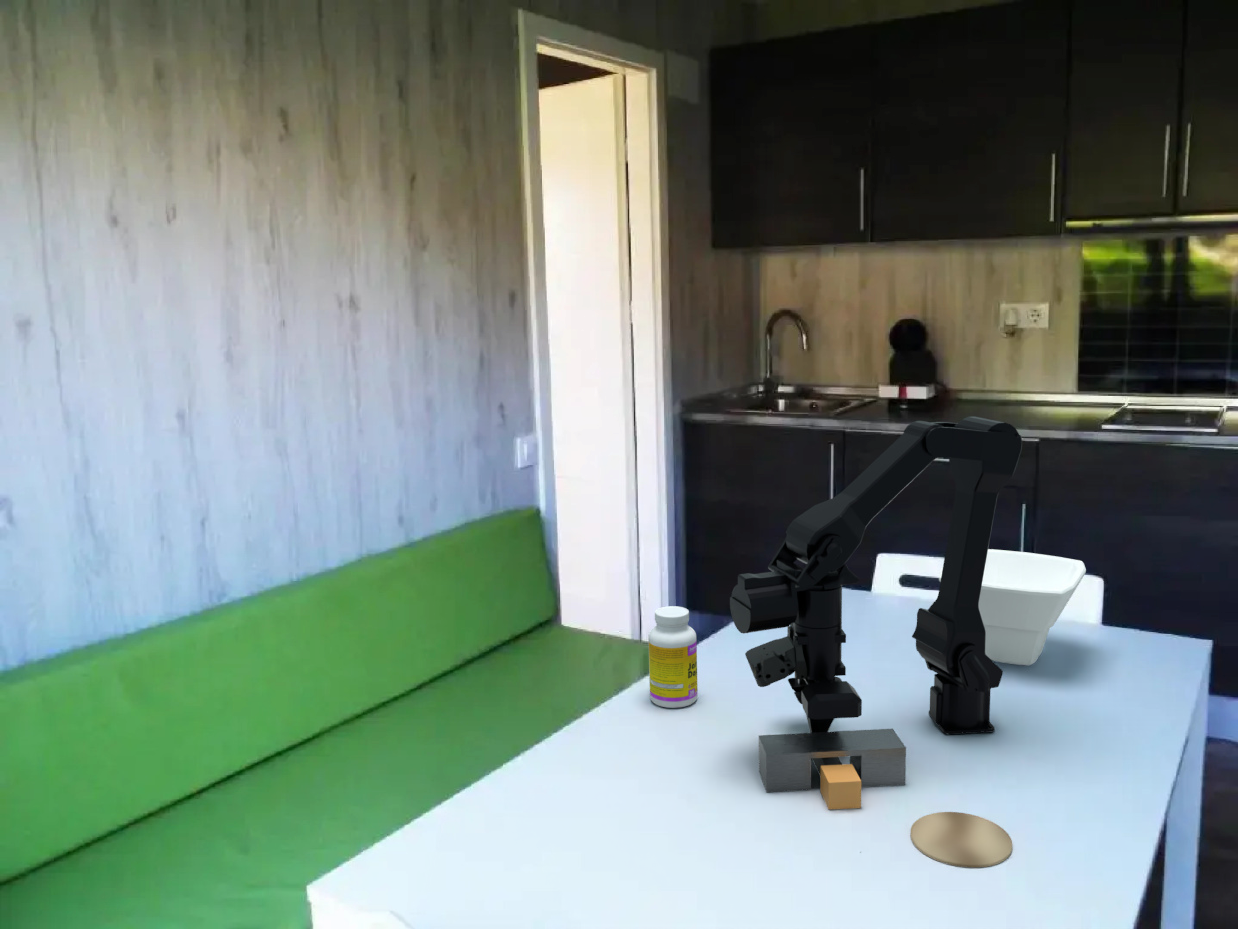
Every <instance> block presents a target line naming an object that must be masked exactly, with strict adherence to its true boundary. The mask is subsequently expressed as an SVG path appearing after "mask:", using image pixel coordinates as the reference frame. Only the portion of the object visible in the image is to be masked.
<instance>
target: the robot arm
mask: <svg viewBox="0 0 1238 929" xmlns="http://www.w3.org/2000/svg"><path fill="white" fill-rule="evenodd" d="M1022 448H1023V440H1022V435H1021V434H1020V433H1019V431H1018V430H1017V428H1016V427H1014V425H1013V424H1011V423H1007V422H1004V421H999V420H993V419H988V418H984V417H980V416H967V417H964V418H962V419H961V420H960V421H958V422H945V421H936V422H929V421H925V420H924V421H923V420H916V421H913V422H911V423H909V424H908V425H907V426H906V427H905V429H904V431H903V434H901V435H900V436H899V437H898V438H897V439H896V440H895V441H894V442H893V443H892V444H891V445H890V446H889V447H887V448H886V449H885V451H883V452H882V453H881V454H880V455H879V456H878V457H877V458H876V459H875V460H874V461H873V462H872V463H870V465H869V466H868V467H867V468H865V469H864V471H862V472H861V473H860V474H859V475H858V476H857V477H856V478H855V479H854V480H853V481H852V482H851V483H850V484H848V485H847V486H846V488H845V489H843V490H842V491H841V492H840V493H838V494H837V495H835V496H834V497H833V498H830V499H827V500H824V501H823V502H820V503H817V504H815V505H813V506H812V507H809V509H808V510H806V511H804V512H803V513H802V514H800V515H798V516H797V517H795V518H794V519H793V520H792V521H791V523H790V524H789V525H788V527H787V528H786V531H785V533H786V537H785V539H784V540H783V541H782V543H781V545H780V547H779V548H778V550H777V551H776V553H775V554H774V556H773V557H772V559H771V561H770V562H769V564H768V565H767V569H768V570H770V571H767V572H759V573H748V572H747V573H741V574H740V573H739V574H738V575H737V584H735V585H734V587H733V590H732V591H731V596H730V597H729V609H730V613H731V618H732V621H733V624H734V626H735V628H736V629H737V631H738V632H739V633H741V634H749V633H756V632H762V631H769V630H776V629H783V628H787V636H784V637H781V638H776V639H772V640H770V641H768V642H765V643H763V644H762V643H761V644H760V645H758V646H755V647H752V648H750V649H748V650H746V652H745V653H744V654H745V658H746V660H747V662H748V663H747V664H748V665H749V667H750V670H751V673H752V676H753V677H754V680H755V682H756V684H757V687H760V688H764V687H769V686H770V685H771V684H774V683H776V682H779V681H781V680H784V679H786V678H787V677H789V676H791V675H793V674H794V677H790V678H788V679H787V681H788V684H789V685H790V687H791V688H790V689H792V690H793V693H794V696H795V699H797V701H798V703H799V704H801V706H802V709H803V711H804V714H805V716H806V721H807V724H808V728H809V729H808V730H809V733H816V732H829V730H830V728H831V727H832V726H831V725H832V724H833V722H834V721H835V719H850V718H851V719H853V718H859V717H861V716H862V713H863V712H862V706H863V704H862V703H863V700H862V697H861V696H860V695H859V693H858V692H857V691H856V688H854V686H852V685H851V684H850V682H848V681H846V680H842V679H841V678H840V677H841V676H846V675H847V674H846V668H847V667H846V666H845V664H844V663H843V661H842V650H843V649H842V646H843V645H842V643H843V644H845V643H846V642H847V634H846V633H845V631H844V630H843V629H842V628H843V625H842V624H843V623H842V619H843V611H842V610H843V586H846V585H847V586H848V585H853V584H858V583H859V582H860V577H859V576H857V575H855V574H854V573H853V572H852V571H851V570H850V569H849V568H848V565H847V564H846V563H847V562H848V560H849V559H850V558H851V556H852V555H853V554H854V552H856V551H857V548H858V547H859V546H860V545H861V542H862V540H863V537H864V534H865V530H866V529H867V526H868V525H869V524H870V523H871V521H872V520H873V519H874V518H875V517H876V516H877V515H879V514H880V512H882V511H883V510H884V509H885V507H887V506H888V505H889V504H890V503H892V501H893V500H894V499H895V498H896V497H897V496H898V495H899V494H900V493H901V492H902V491H904V489H905V488H907V487H908V486H909V485H910V484H911V483H912V482H913V481H914V480H915V479H916V478H917V477H918V476H919V475H920V474H921V473H922V472H923V471H924V470H926V469H927V468H928V466H930V465H931V463H933V462H934V461H935V460H936V459H937V458H939V457H940V458H949V460H948V461H949V462H948V463H949V467H950V470H951V473H952V477H953V480H954V483H955V495H954V499H953V500H954V501H953V508H952V511H951V519H950V524H949V530H948V535H947V541H946V548H945V551H944V552H945V554H944V559H943V566H942V567H943V570H942V576H941V582H940V581H939V582H940V583H939V588H938V594H937V598H936V599H935V601H933V602H932V604H931V605H930V606H929V608H928V609H926V608H922V607H919V608H918V610H917V613H916V625H915V630H914V631H913V634H912V635H911V638H913V639H914V640H915V648H916V652H918V653H919V656H921V658H922V659H924V661H925V664H926V667H927V669H928V670H929V671H932V672H934V673H935V674H934V675H933V676H934V678H933V679H934V680H933V685H931V686H930V687H929V688H930V689H929V710H928V716H929V717H930V718H931V719H932V721H934V723H935V724H936V726H938V727H939V729H940V731H942V732H943V733H944V734H945V735H955V734H956V735H960V734H962V735H963V734H975V733H976V734H977V733H979V734H980V733H994V732H995V726H994V725H993V724H992V722H990V716H991V714H990V712H991V689H994V688H998V687H999V686H1000V683H1001V680H1002V676H1003V674H1004V671H1003V670H1002V668H1000V667H999V666H998V665H997V664H996V662H995V661H992V660H991V659H990V658H989V657H988V656H987V655H986V654H985V641H986V631H985V627H984V624H983V621H982V618H981V614H980V611H979V598H980V592H981V587H982V581H983V575H984V570H985V564H986V558H987V552H988V549H989V545H990V539H991V534H992V528H993V523H994V517H995V511H996V507H997V500H998V496H999V493H1000V492H1001V491H1002V489H1004V487H1005V486H1006V485H1007V483H1008V482H1009V481H1010V480H1011V478H1013V476H1014V474H1015V471H1016V468H1017V466H1018V462H1019V459H1020V455H1021V453H1022ZM797 560H798V561H799V562H801V563H803V564H805V566H804V567H801V566H799V565H797V564H796V563H795V562H796V561H797ZM838 676H839V677H838Z"/></svg>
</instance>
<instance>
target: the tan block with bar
mask: <svg viewBox="0 0 1238 929" xmlns="http://www.w3.org/2000/svg"><path fill="white" fill-rule="evenodd" d="M811 761H812V762H813V764H814V766H815V769H816V771H817V773H818V775H819V777H820V778H819V780H820V783H819V784H820V785H819V786H820V788H819V789H820V795H821V796H822V798H823V801H824V802H825V805H826V807H827V809H828V810H844V809H845V810H846V809H847V810H848V809H862V787H861V779H860V778H859V776H858V774H857V772H856V770H855V769H854V767H853V765H852V764H850V763H847V764H843V763H842V761H841V759H840V757H826V758H811Z"/></svg>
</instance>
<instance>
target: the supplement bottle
mask: <svg viewBox="0 0 1238 929" xmlns="http://www.w3.org/2000/svg"><path fill="white" fill-rule="evenodd" d="M689 620H690V611H689V609H687V608H686V607H683V606H678V605H677V606H675V605H671V606H670V605H669V606H662V607H659V608H657V609H655V611H654V621H655V624H656V626H653V628H651V629H650V631H649V632H648V633H649V634H648V637H647V638H648V670H649V671H648V674H649V675H648V676H649V699H650V701H652V703H654V704H655V705H656V706H659V707H662V708H663V707H664V708H671V709H676V708H685V707H688V706H690V705H693V704H694V703H695V702H696V701H697V699H698V652H697V650H698V648H697V643H698V642H697V633H696V631H695V630H694V629H693V628H692V627H691V626H690V625H689V624H688V623H689Z"/></svg>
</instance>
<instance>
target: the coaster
mask: <svg viewBox="0 0 1238 929" xmlns="http://www.w3.org/2000/svg"><path fill="white" fill-rule="evenodd" d="M909 836H910V840H911V842H912V844H913V846H915V848H916V849H917V850H918V851H920V853H922V854H923V855H925V856H926V857H929V858H930V859H932V860H935V861H937V862H939V863H942V864H946V865H948V866H954V867H960V868H977V869H979V868H980V869H981V868H987V867H992V866H995V865H998V864H1000V863H1002V862H1004V861H1006V859H1008V858H1009V857H1010V856H1011V855H1012V852H1013V841H1012V840H1013V839H1012V838H1011V836H1010V834H1009V833H1008V832H1007V831H1006V830H1005V829H1004V828H1003V827H1001V826H1000V825H998V824H997V823H995V822H994V821H992V820H989V819H987V818H985V817H981V816H979V815H975V814H970V813H967V812H966V813H965V812H957V811H940V812H939V811H938V812H933V813H930V814H926V815H923V816H922V817H919V818H918V819H916V820H915V821H914V822H913V823H912V825H911V827H910V835H909Z"/></svg>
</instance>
